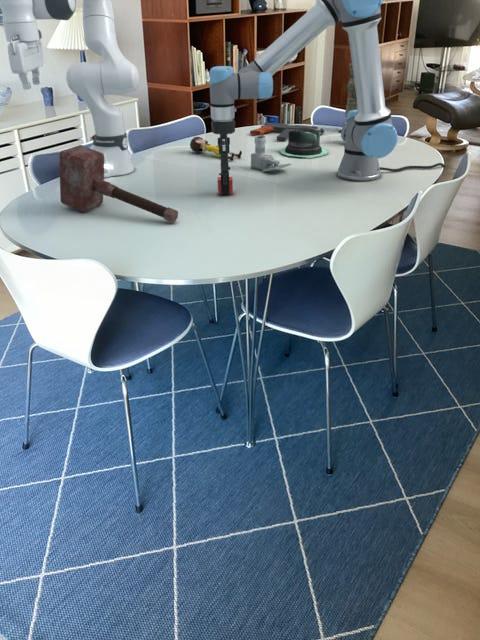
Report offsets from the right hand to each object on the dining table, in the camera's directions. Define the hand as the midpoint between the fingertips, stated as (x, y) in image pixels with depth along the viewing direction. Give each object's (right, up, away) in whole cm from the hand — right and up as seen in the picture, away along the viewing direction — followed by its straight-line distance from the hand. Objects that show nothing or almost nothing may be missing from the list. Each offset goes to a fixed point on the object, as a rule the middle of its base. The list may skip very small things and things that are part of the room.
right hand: (225, 191), depth 188 cm
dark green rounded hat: (+32, +28, +47) cm, 63 cm away
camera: (+16, +14, +25) cm, 33 cm away
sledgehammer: (-32, -11, -15) cm, 37 cm away
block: (0, 0, 0) cm, 0 cm away
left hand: (-56, +25, -25) cm, 67 cm away
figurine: (-6, +26, +45) cm, 52 cm away
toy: (+56, +35, +58) cm, 88 cm away
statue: (+60, +48, +81) cm, 112 cm away
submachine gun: (+26, +44, +75) cm, 91 cm away
